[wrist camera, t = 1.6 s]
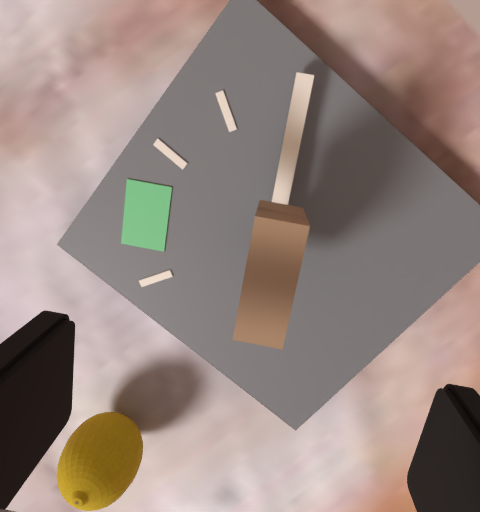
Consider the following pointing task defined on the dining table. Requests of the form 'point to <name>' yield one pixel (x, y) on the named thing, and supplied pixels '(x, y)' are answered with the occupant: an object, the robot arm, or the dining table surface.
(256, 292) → the wooden block with handle
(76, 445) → the lemon
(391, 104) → the dining table surface
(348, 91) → the board
